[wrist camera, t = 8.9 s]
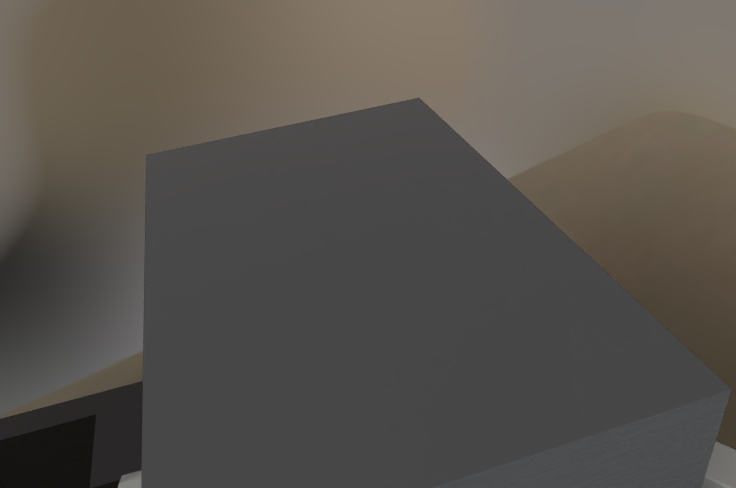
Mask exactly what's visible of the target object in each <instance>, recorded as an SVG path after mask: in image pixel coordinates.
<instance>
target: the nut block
mask: <svg viewBox="0 0 736 488" xmlns="http://www.w3.org/2000/svg"><path fill="white" fill-rule="evenodd" d="M143 344H144V345H143V405H142V473H141V488H701V487H702V484H703V481H704V478H705V474H706V471H707V468H708V465H709V462H710V458H711V455H712V452H713V449H714V445H715V442H716V439H717V436H718V433H719V429H720V426H721V423H722V420H723V417H724V413H725V410H726V407H727V404H728V400H729V397H730V394H731V391H732V389H731V388H730V387H729V386H728V385H727V384H726V383H725V382H724V381H723V380H722V379H720V378H719V377H718V376H717V375H716V374H715V373H714V372H713V371H712V370H711V369H710V368H709V367H708V366H707V365H705V364H704V363H703V362H702V361H701V360H700V359H699V358H698V357H697V356H696V355H695V354H694V353H693V352H692V351H690V350H689V349H688V348H687V347H686V346H685V345H684V344H683V343H682V342H681V341H680V340H679V339H678V338H676V337H675V336H674V335H673V334H672V333H671V332H670V331H669V330H668V329H667V328H666V327H665V326H664V325H663V324H661V323H660V322H659V321H658V320H657V319H656V318H655V317H654V316H653V315H652V314H651V313H650V312H649V311H648V310H646V309H645V308H644V307H643V306H642V305H641V304H640V303H639V302H638V301H637V300H636V299H635V298H634V297H632V296H631V295H630V294H629V293H628V292H627V291H626V290H625V289H624V288H623V287H622V286H621V285H620V284H619V283H617V282H616V281H615V280H614V279H613V278H612V277H611V276H610V275H609V274H608V273H607V272H606V271H605V270H603V269H602V268H601V267H600V266H599V265H598V264H597V263H596V262H595V261H594V260H593V259H592V258H591V257H590V256H588V255H587V254H586V253H585V252H584V251H583V250H582V249H581V248H580V247H579V246H578V245H577V244H576V243H575V242H573V241H572V240H571V239H570V238H569V237H568V236H567V235H566V234H565V233H564V232H563V231H562V230H561V229H559V228H558V227H557V226H556V225H555V224H554V223H553V222H552V221H551V220H550V219H549V218H548V217H547V216H546V215H544V214H543V213H542V212H541V211H540V210H539V209H538V208H537V207H536V206H535V205H534V204H533V203H532V202H531V201H529V200H528V199H527V198H526V197H525V196H524V195H523V194H522V193H521V192H520V191H519V190H518V189H517V188H515V187H514V186H513V185H512V184H511V183H510V182H509V181H508V180H507V179H506V178H505V177H504V176H502V175H501V174H500V173H499V172H498V171H497V170H496V169H495V168H494V167H493V166H492V165H491V164H490V163H489V162H488V161H486V160H485V159H484V158H483V157H482V156H481V155H480V154H479V153H478V152H477V151H476V150H475V149H474V148H473V147H471V146H470V145H469V144H468V143H467V142H466V141H465V140H464V139H463V138H462V137H461V136H460V135H459V134H458V133H456V132H455V131H454V130H453V129H452V128H451V127H450V126H449V125H448V124H447V123H446V122H445V121H444V120H442V119H441V118H440V117H439V116H438V115H437V114H436V113H435V112H434V111H433V110H432V109H431V108H430V107H429V106H427V105H426V104H425V103H424V102H423V101H422V100H421V99H420V98H416V99H412V100H407V101H402V102H398V103H392V104H387V105H383V106H378V107H374V108H368V109H364V110H359V111H354V112H349V113H345V114H340V115H335V116H330V117H326V118H321V119H317V120H311V121H307V122H302V123H297V124H292V125H288V126H283V127H278V128H273V129H268V130H264V131H259V132H254V133H249V134H245V135H240V136H235V137H231V138H226V139H221V140H216V141H211V142H206V143H202V144H197V145H193V146H188V147H183V148H178V149H173V150H169V151H164V152H159V153H155V154H149V155H146V206H145V270H144V339H143Z"/></svg>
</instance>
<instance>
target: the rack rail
mask: <svg viewBox="0 0 736 488" xmlns="http://www.w3.org/2000/svg"><path fill="white" fill-rule="evenodd" d="M142 405H143V381H142V382H138V383H134V384H131V385H127V386H123V387H119V388H116V389H112V390H108V391H104V392H101V393H97V394H93V395H89V396H85V397H82V398H78V399H74V400H70V401H67V402H63V403H59V404H55V405H51V406H48V407H44V408H40V409H36V410H33V411H29V412H25V413H21V414H17V415H14V416H10V417H6V418H2V419H0V488H118V485H119V482H120V479H121V476H122V475H125V474H129V473H133V472H136V471H140V470H142Z"/></svg>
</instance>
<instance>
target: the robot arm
mask: <svg viewBox="0 0 736 488" xmlns="http://www.w3.org/2000/svg"><path fill="white" fill-rule="evenodd" d="M141 473H142V470H140V471H136V472H133V473H129V474H125V475H122V476H121V479H120V482H119V485H118V488H141ZM701 488H736V450H735V449H732V448H730V447H728V446H726V445H723V444H721V443H719V442H715V445H714V449H713V452H712V455H711V458H710V462H709V465H708V468H707V471H706V474H705V478H704V481H703V484H702V487H701Z"/></svg>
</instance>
